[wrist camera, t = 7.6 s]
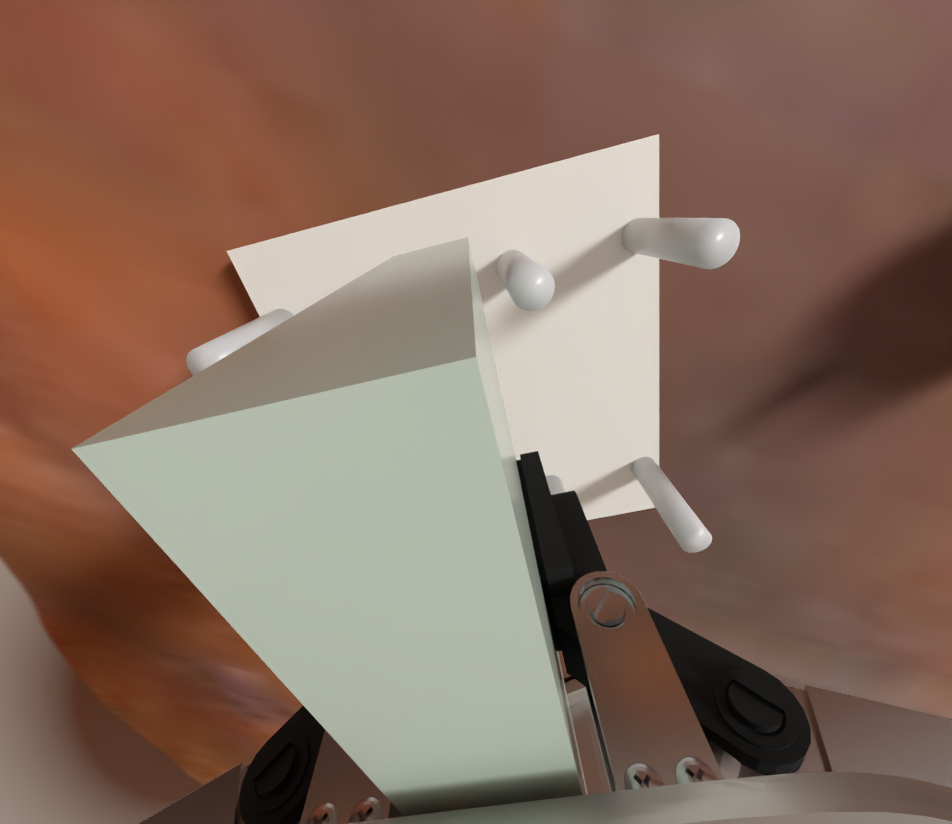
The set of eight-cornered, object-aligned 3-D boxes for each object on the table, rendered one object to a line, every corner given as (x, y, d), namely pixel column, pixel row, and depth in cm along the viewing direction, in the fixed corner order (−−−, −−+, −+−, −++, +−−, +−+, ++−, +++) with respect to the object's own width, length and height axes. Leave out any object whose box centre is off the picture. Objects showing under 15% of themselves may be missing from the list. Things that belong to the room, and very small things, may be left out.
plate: (393, 256, 10) (71, 447, 2) (467, 236, 10) (476, 356, 2) (498, 592, 16) (529, 955, 8) (543, 584, 16) (619, 948, 8)
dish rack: (647, 489, 22) (712, 587, 16) (386, 538, 23) (359, 645, 17) (640, 141, 14) (762, 89, 8) (247, 247, 15) (115, 267, 10)
